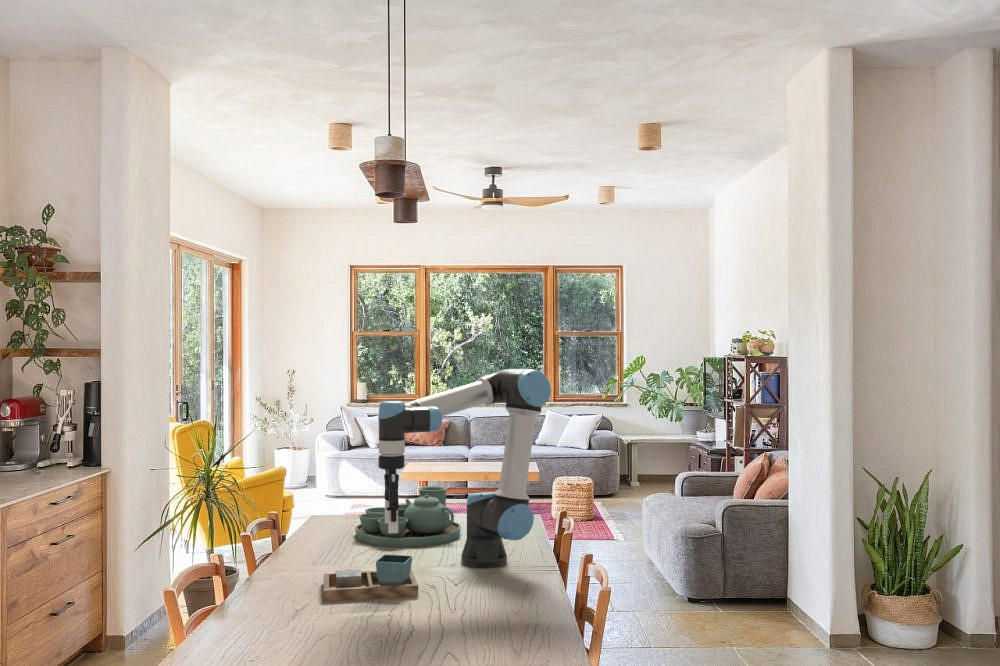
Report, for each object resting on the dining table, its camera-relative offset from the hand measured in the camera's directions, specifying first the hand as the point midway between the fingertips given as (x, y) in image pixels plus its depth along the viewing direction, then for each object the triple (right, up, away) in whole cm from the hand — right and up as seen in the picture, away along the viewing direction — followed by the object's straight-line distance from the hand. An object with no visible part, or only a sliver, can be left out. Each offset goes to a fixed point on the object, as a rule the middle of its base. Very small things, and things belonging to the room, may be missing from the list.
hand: (391, 528), depth 240 cm
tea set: (-3, -21, +74) cm, 76 cm away
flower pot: (+1, -18, -2) cm, 18 cm away
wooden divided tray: (-6, -18, -2) cm, 19 cm away
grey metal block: (-12, -17, -3) cm, 21 cm away
